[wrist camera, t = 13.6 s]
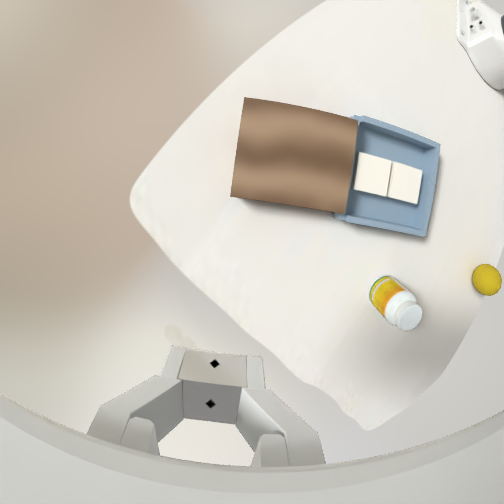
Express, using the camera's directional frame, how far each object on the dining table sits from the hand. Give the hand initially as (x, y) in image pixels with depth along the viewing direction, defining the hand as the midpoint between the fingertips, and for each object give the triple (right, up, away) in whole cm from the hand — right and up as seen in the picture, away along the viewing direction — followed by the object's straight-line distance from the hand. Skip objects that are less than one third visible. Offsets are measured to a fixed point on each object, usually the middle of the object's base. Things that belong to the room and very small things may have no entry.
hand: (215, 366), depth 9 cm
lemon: (+44, 0, +32) cm, 55 cm away
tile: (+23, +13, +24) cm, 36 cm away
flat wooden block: (+6, +16, +26) cm, 31 cm away
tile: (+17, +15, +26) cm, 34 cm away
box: (+20, +15, +27) cm, 36 cm away
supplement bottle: (+22, -2, +32) cm, 39 cm away
